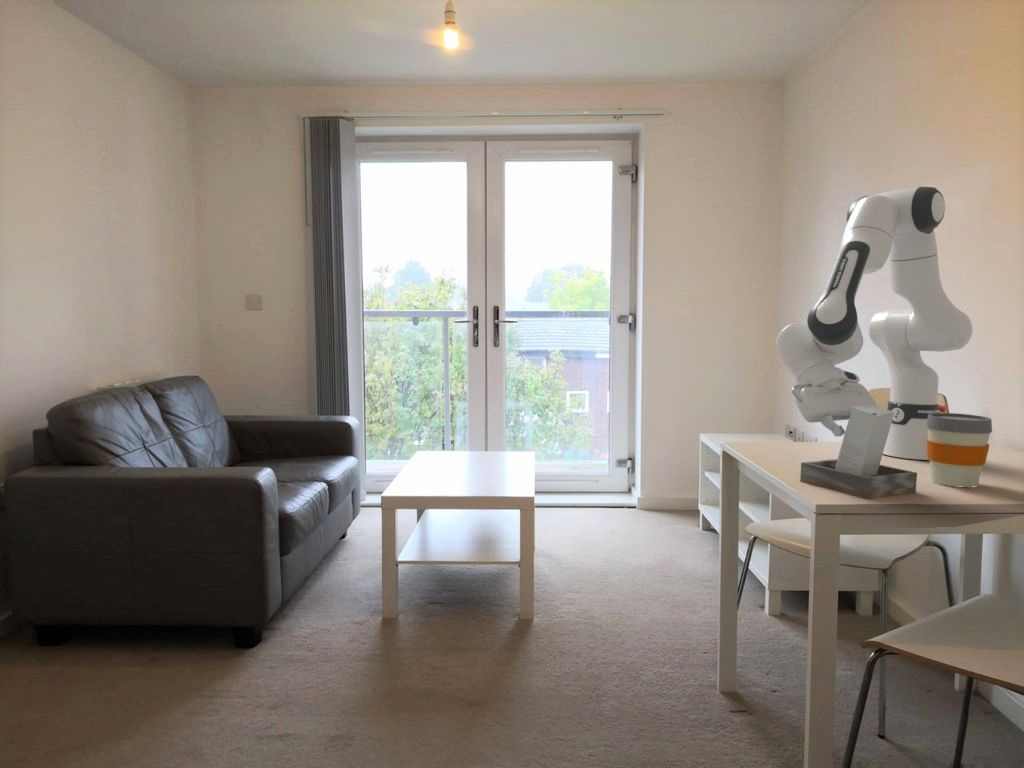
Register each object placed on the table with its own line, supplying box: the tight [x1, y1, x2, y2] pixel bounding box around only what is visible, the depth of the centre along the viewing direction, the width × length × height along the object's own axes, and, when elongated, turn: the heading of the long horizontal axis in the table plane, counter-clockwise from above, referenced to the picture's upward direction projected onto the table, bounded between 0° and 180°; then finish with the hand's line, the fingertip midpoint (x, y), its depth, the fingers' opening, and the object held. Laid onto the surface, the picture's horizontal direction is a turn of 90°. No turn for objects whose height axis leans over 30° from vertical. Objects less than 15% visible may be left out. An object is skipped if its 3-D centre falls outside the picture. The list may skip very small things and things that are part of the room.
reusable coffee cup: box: [926, 412, 993, 487], centre depth 163 cm, size 13×13×15 cm
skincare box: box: [835, 404, 895, 477], centre depth 157 cm, size 8×6×15 cm
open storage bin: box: [800, 458, 918, 500], centre depth 158 cm, size 15×17×4 cm
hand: (856, 433), depth 158 cm, fingers closed on skincare box, 8 cm apart
